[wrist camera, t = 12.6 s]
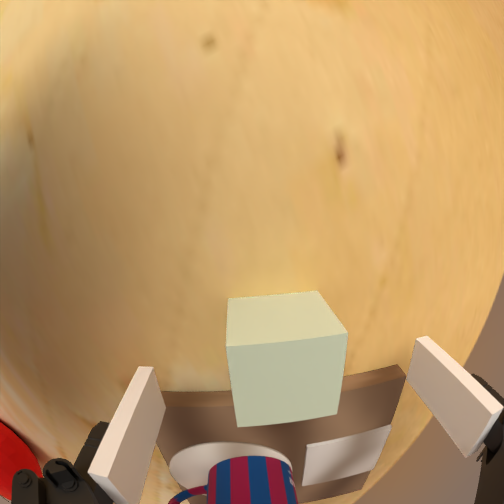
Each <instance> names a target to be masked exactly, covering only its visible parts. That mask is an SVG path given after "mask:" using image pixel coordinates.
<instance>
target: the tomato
mask: <svg viewBox="0 0 504 504" xmlns="http://www.w3.org/2000/svg"><path fill="white" fill-rule="evenodd" d="M20 469H30V470H32V471H33V472H35V473H36V475H37V476H38V477H42V478H43V476H42V471H41V468H40V466H39V463H38V461H37V459H36V457H35V456H34V454H33V453H32V452H31V450H30V449H29V447H28V446H27V445H26V444H25V443H24V442H23V441H22V440H21V439H20V438H19V437H18V436H17V435H16V434H15V433H14V432H13V431H12V430H10V429H9V428H8V427H6V426H5V425H3V424H2V423H1V422H0V495H2V496H3V498H4V497H5V498H7V499H9V500H11V494H12V479H13V475H14V474H15V473H16V472H17V471H19V470H20ZM8 502H9V501H8Z"/></svg>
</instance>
